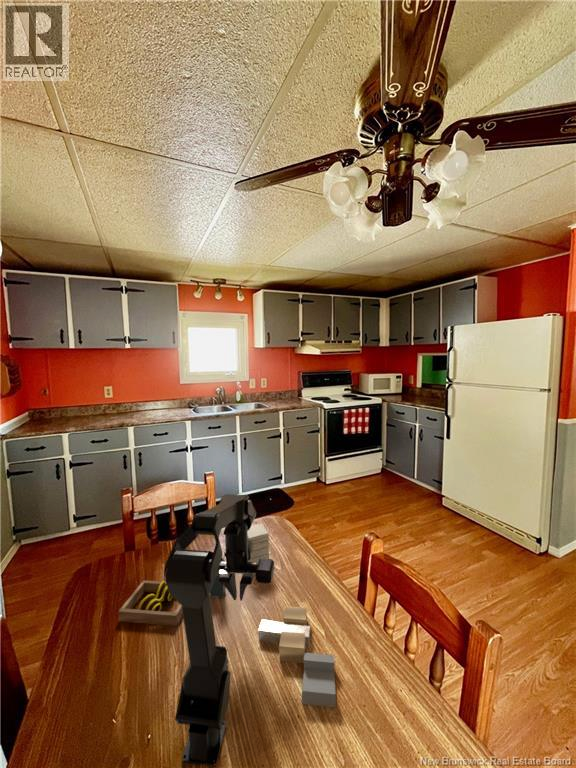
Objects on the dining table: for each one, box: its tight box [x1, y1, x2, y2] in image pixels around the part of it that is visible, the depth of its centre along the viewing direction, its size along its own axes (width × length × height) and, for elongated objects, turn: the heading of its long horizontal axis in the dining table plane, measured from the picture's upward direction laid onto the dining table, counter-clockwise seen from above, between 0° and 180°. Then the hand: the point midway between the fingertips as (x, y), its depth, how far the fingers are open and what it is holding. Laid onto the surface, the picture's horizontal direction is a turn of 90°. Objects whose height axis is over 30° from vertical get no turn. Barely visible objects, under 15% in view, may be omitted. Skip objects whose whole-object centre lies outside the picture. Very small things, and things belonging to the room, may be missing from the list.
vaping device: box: [210, 557, 227, 599], centre depth 94 cm, size 3×5×12 cm, turn 78°
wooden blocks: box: [278, 605, 308, 664], centre depth 79 cm, size 12×6×4 cm, turn 174°
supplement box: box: [247, 523, 270, 565], centre depth 108 cm, size 7×7×13 cm
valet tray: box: [118, 579, 183, 627], centre depth 91 cm, size 12×17×3 cm
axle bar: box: [258, 619, 311, 649], centre depth 79 cm, size 13×3×3 cm, turn 80°
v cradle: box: [301, 652, 337, 708], centre depth 68 cm, size 8×7×3 cm
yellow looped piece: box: [138, 580, 174, 611], centre depth 90 cm, size 10×5×5 cm, turn 159°
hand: (238, 599), depth 80 cm, fingers closed
